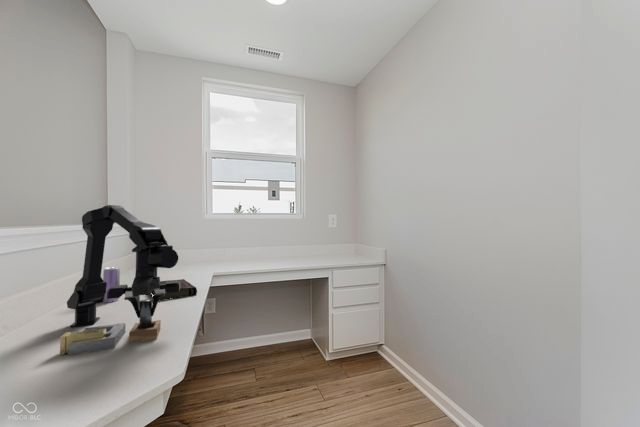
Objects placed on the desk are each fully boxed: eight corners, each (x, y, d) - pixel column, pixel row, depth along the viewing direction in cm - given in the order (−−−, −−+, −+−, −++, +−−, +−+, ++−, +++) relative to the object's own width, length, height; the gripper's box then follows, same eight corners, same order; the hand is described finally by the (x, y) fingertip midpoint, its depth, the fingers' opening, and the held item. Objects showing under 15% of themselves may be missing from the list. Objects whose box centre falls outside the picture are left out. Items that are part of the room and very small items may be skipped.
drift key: (65, 350, 74) (65, 332, 74) (106, 343, 78) (106, 326, 78) (59, 355, 71) (60, 336, 71) (102, 348, 75) (102, 330, 75)
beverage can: (110, 303, 118) (110, 269, 119) (99, 302, 119) (100, 268, 120) (122, 299, 124) (123, 267, 125) (112, 298, 125) (112, 266, 126)
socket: (85, 337, 82) (86, 328, 82) (125, 332, 86) (125, 322, 86) (68, 355, 71) (68, 344, 71) (114, 347, 75) (114, 337, 75)
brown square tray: (135, 332, 85) (135, 323, 85) (160, 329, 88) (160, 320, 88) (129, 343, 78) (129, 332, 78) (156, 338, 81) (156, 328, 81)
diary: (185, 287, 150) (185, 278, 151) (197, 296, 131) (197, 286, 131) (146, 292, 139) (146, 282, 139) (152, 303, 119) (153, 291, 120)
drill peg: (140, 328, 84) (140, 299, 84) (152, 327, 85) (152, 298, 86) (138, 332, 81) (138, 302, 81) (150, 330, 82) (151, 301, 83)
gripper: (101, 273, 73) (99, 331, 72) (178, 268, 80) (177, 320, 80) (113, 267, 83) (111, 318, 82) (180, 263, 91) (180, 309, 90)
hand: (145, 316), depth 83 cm, fingers closed on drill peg, 3 cm apart
